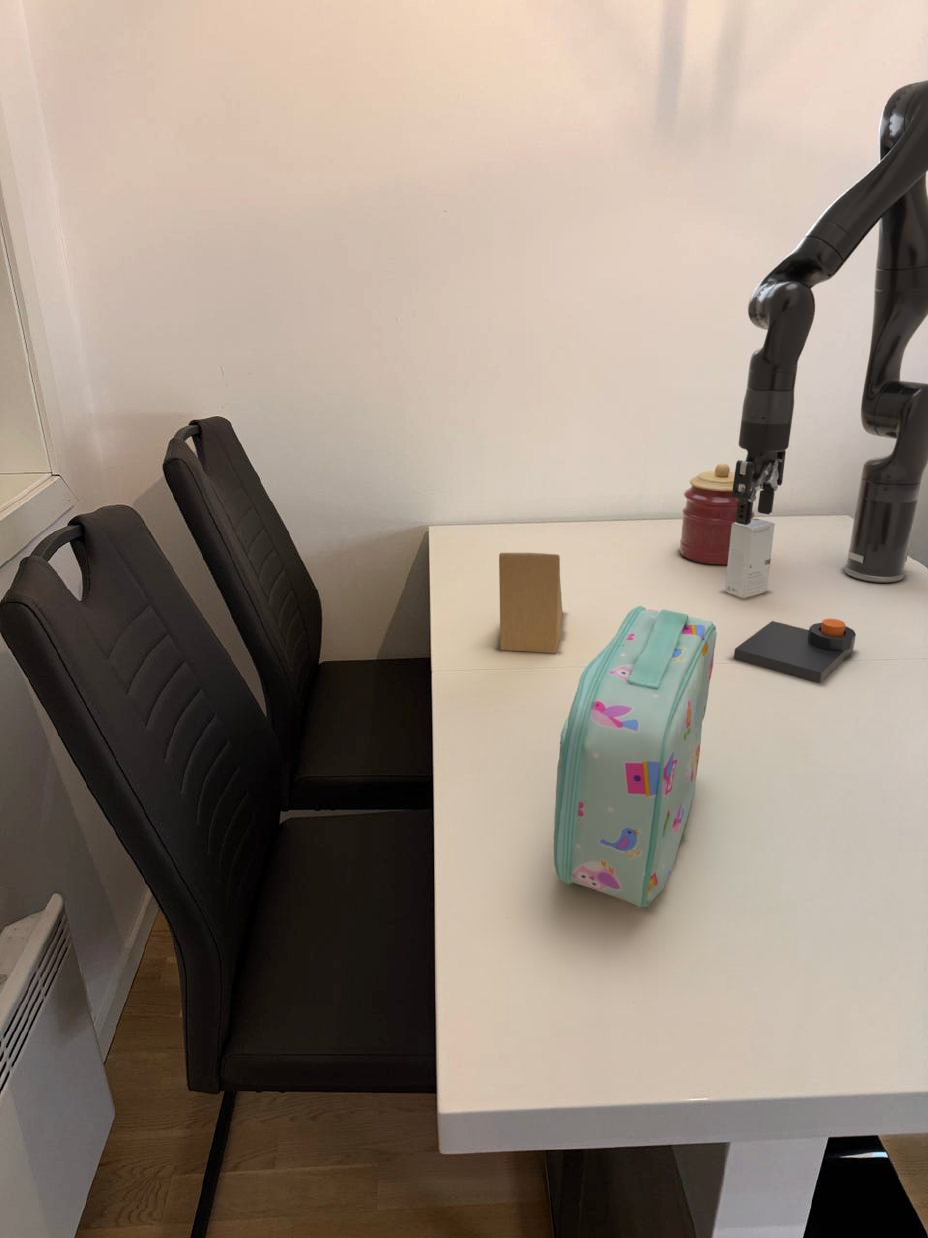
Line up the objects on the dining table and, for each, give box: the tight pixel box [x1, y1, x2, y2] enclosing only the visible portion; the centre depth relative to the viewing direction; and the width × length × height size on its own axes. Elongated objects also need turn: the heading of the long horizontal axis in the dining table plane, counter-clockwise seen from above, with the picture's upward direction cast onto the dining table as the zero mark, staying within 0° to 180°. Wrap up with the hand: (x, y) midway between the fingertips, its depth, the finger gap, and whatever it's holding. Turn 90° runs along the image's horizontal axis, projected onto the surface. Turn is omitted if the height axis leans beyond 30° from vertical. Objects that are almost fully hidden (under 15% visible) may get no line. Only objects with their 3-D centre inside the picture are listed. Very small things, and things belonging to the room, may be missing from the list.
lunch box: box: [553, 605, 718, 908], centre depth 79 cm, size 27×10×21 cm, turn 157°
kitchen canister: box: [679, 462, 757, 565], centre depth 157 cm, size 13×13×18 cm
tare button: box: [821, 618, 846, 636], centre depth 118 cm, size 3×3×2 cm
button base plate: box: [733, 620, 857, 684], centre depth 118 cm, size 13×12×4 cm
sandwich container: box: [498, 552, 564, 654], centre depth 126 cm, size 9×15×15 cm, turn 170°
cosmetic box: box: [724, 518, 776, 599], centre depth 140 cm, size 6×4×12 cm
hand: (754, 518), depth 137 cm, fingers open, 8 cm apart
